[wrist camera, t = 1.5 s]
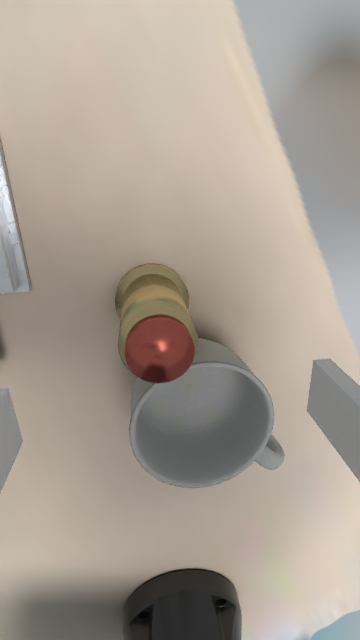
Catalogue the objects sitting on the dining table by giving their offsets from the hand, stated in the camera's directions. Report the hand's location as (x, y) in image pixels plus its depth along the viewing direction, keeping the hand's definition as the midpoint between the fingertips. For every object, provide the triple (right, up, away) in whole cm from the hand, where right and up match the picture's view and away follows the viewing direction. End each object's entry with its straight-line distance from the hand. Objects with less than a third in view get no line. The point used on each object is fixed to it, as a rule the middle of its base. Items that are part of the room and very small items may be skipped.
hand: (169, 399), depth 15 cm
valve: (-2, +5, +14) cm, 15 cm away
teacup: (+2, -3, +18) cm, 18 cm away
